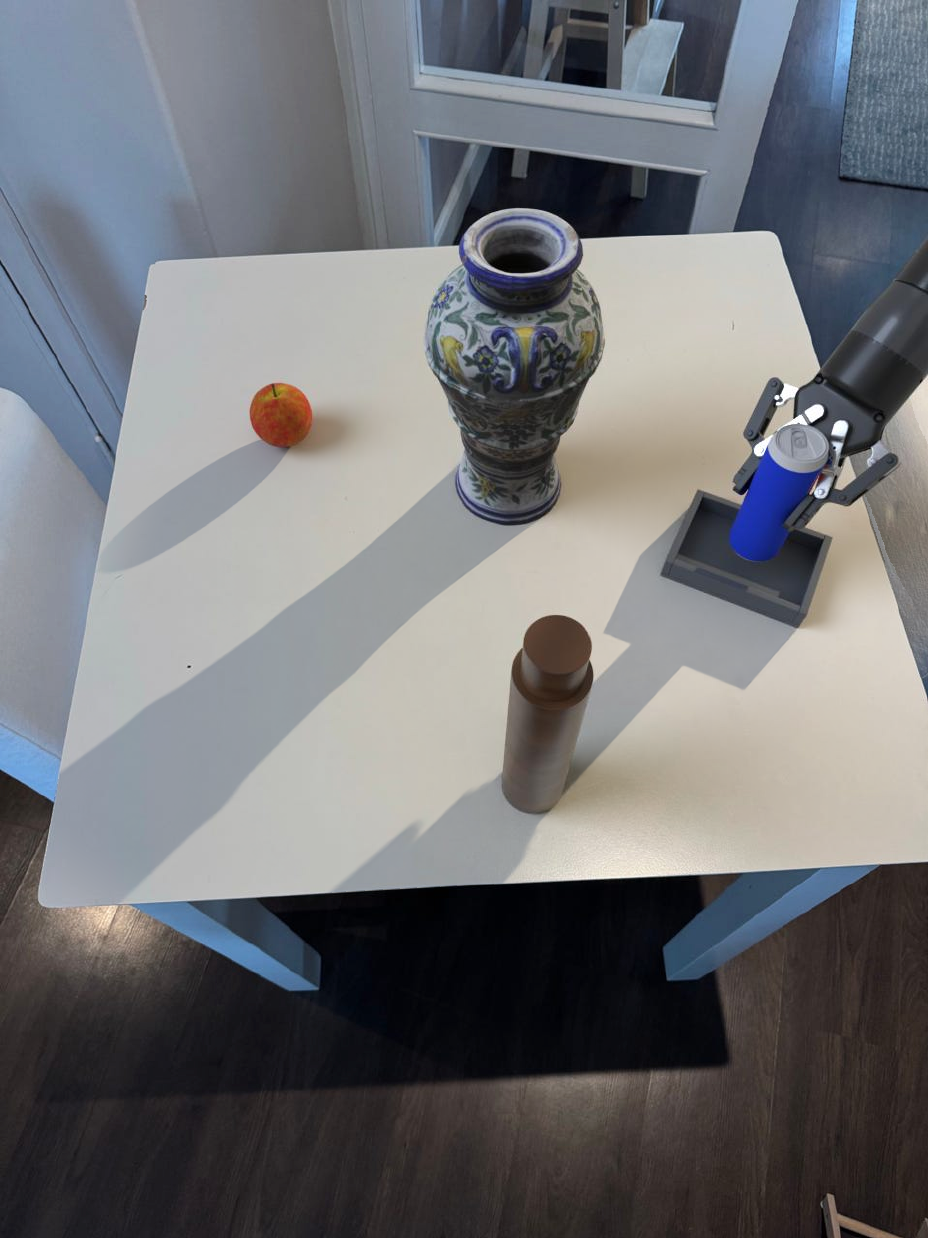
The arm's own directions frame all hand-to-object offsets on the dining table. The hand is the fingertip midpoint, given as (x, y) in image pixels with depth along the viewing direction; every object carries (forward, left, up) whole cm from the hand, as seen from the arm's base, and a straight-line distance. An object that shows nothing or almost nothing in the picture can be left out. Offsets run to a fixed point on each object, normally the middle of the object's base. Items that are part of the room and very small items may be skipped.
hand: (762, 510), depth 79 cm
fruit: (+52, +4, -11) cm, 54 cm away
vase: (+26, -1, -11) cm, 28 cm away
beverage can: (-1, -2, -7) cm, 8 cm away
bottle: (+9, +30, -10) cm, 33 cm away
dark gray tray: (-1, -2, -10) cm, 11 cm away
